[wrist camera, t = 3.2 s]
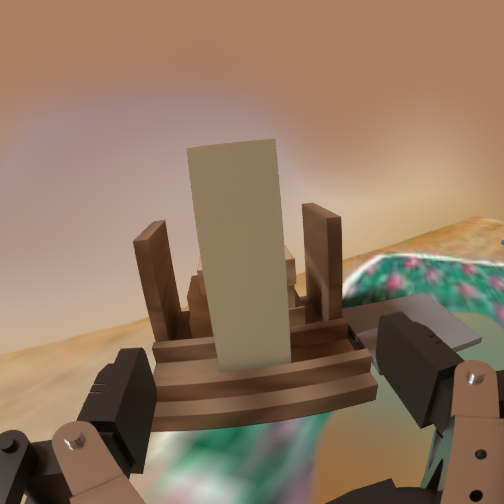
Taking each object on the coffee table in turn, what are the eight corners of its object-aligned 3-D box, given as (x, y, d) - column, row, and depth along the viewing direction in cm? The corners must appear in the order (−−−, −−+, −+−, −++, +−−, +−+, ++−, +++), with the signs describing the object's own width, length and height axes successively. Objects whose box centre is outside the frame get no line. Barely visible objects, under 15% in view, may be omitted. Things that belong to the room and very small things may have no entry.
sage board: (284, 352, 25) (267, 141, 21) (291, 375, 22) (275, 138, 18) (222, 361, 25) (191, 149, 20) (222, 384, 22) (186, 148, 17)
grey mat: (423, 297, 34) (423, 292, 34) (480, 342, 23) (482, 337, 23) (337, 314, 33) (337, 309, 33) (380, 375, 23) (381, 369, 22)
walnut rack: (317, 306, 35) (313, 202, 32) (375, 399, 20) (390, 242, 17) (173, 324, 34) (153, 221, 31) (149, 431, 19) (96, 278, 16)
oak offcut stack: (292, 303, 34) (289, 241, 32) (305, 329, 28) (302, 258, 26) (197, 315, 33) (186, 254, 31) (193, 343, 28) (179, 273, 26)
